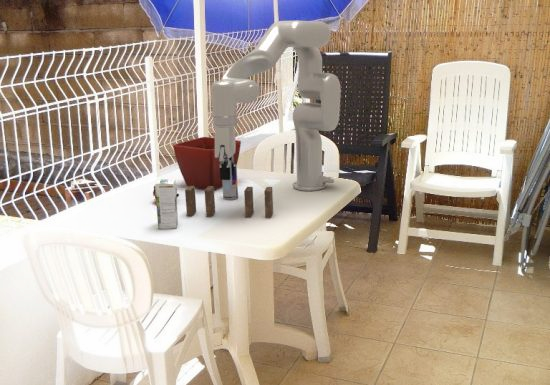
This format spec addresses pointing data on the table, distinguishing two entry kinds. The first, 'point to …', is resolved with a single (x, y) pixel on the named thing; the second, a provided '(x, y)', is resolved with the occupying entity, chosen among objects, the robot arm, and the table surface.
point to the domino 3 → (228, 183)
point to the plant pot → (201, 162)
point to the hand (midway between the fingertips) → (227, 176)
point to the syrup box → (166, 203)
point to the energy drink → (233, 191)
